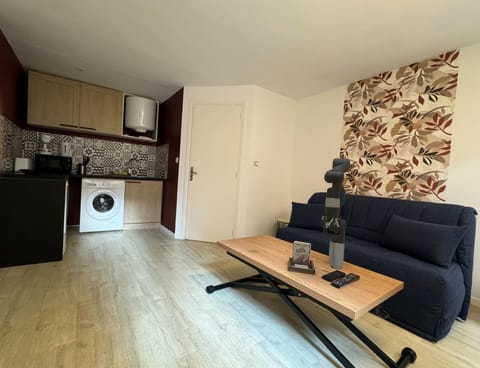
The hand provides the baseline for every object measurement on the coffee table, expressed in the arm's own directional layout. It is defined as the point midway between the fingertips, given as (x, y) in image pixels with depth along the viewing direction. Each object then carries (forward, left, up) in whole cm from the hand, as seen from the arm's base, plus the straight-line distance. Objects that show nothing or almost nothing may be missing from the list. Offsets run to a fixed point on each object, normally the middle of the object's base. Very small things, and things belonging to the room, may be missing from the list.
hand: (330, 233), depth 131 cm
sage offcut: (-10, -14, -27) cm, 32 cm away
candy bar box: (-19, -14, -28) cm, 37 cm away
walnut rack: (-14, -14, -28) cm, 35 cm away
